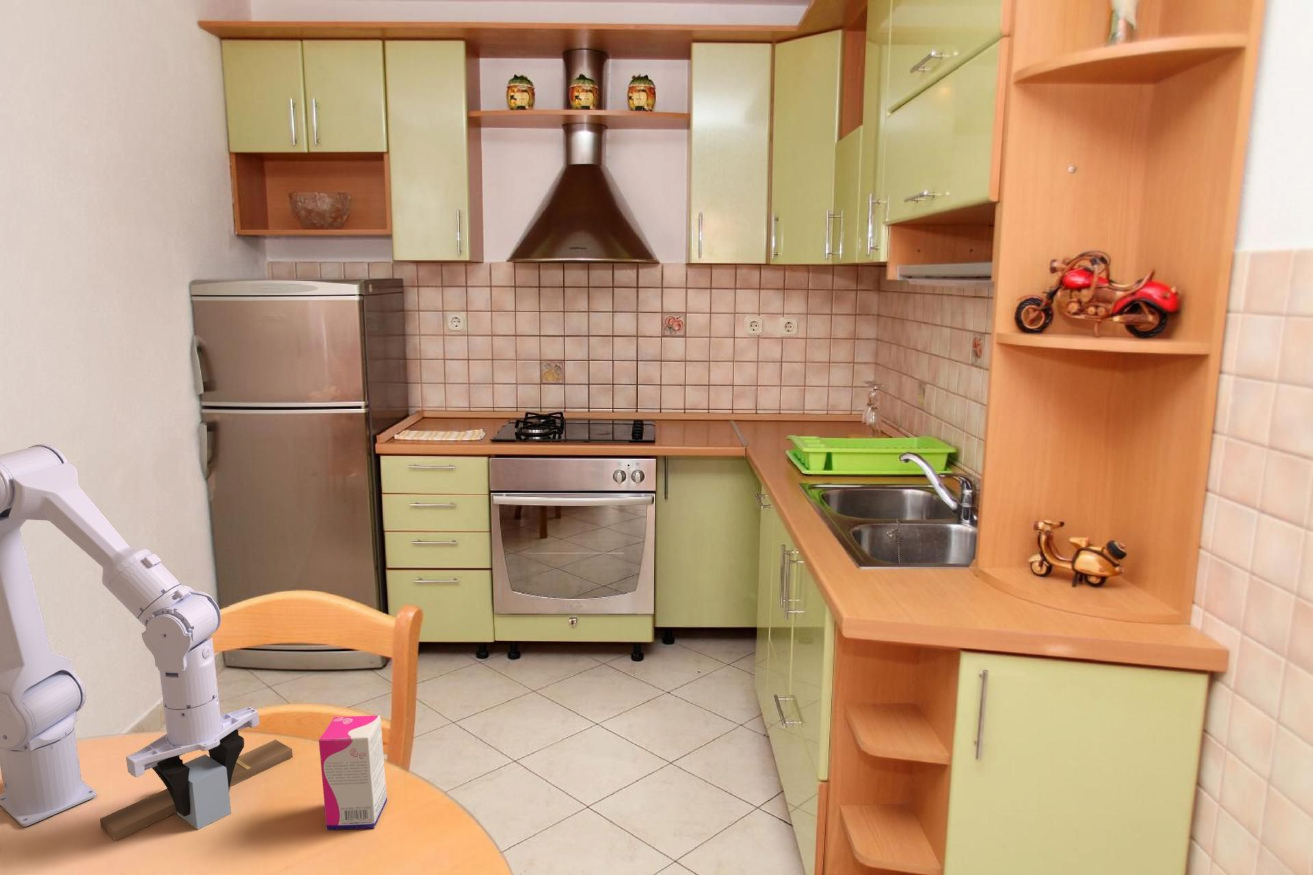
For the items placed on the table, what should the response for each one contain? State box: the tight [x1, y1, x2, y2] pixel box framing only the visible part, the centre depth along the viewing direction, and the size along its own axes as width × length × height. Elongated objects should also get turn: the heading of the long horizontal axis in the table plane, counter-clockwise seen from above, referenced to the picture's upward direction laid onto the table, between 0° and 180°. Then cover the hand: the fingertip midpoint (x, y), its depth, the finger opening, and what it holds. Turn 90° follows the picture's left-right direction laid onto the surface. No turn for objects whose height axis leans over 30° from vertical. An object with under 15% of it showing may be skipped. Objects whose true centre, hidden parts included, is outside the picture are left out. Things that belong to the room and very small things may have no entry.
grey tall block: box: [176, 754, 232, 830], centre depth 108 cm, size 10×4×6 cm, turn 53°
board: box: [99, 739, 293, 842], centre depth 112 cm, size 4×22×1 cm, turn 143°
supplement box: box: [318, 715, 388, 831], centre depth 106 cm, size 6×6×12 cm
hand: (203, 802), depth 107 cm, fingers closed on grey tall block, 4 cm apart
